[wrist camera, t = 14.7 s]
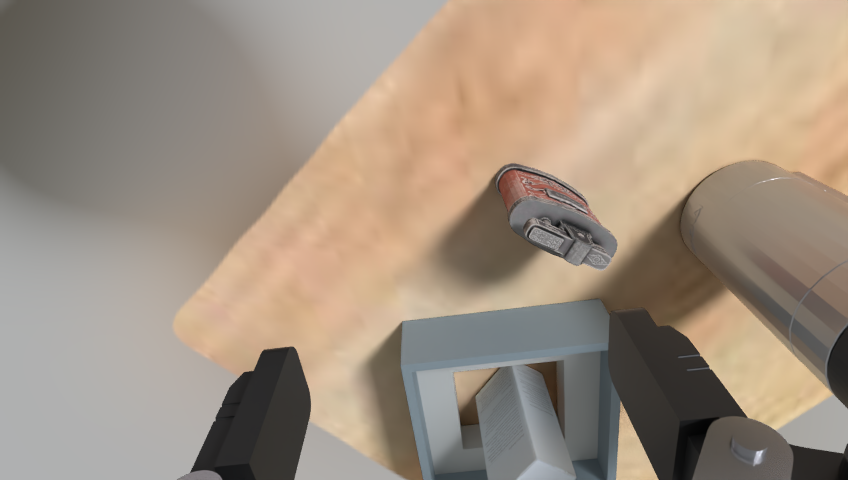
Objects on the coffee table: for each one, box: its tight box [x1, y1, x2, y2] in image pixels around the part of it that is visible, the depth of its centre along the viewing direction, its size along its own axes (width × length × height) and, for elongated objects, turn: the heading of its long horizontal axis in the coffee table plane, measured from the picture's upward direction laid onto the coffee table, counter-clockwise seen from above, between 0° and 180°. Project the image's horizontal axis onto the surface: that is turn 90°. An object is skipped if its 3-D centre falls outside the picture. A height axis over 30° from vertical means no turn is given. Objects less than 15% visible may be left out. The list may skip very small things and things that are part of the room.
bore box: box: [400, 299, 620, 480], centre depth 48 cm, size 18×18×6 cm
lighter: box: [495, 163, 617, 270], centre depth 37 cm, size 8×3×10 cm, turn 65°
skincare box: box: [475, 365, 577, 480], centre depth 45 cm, size 6×4×12 cm
